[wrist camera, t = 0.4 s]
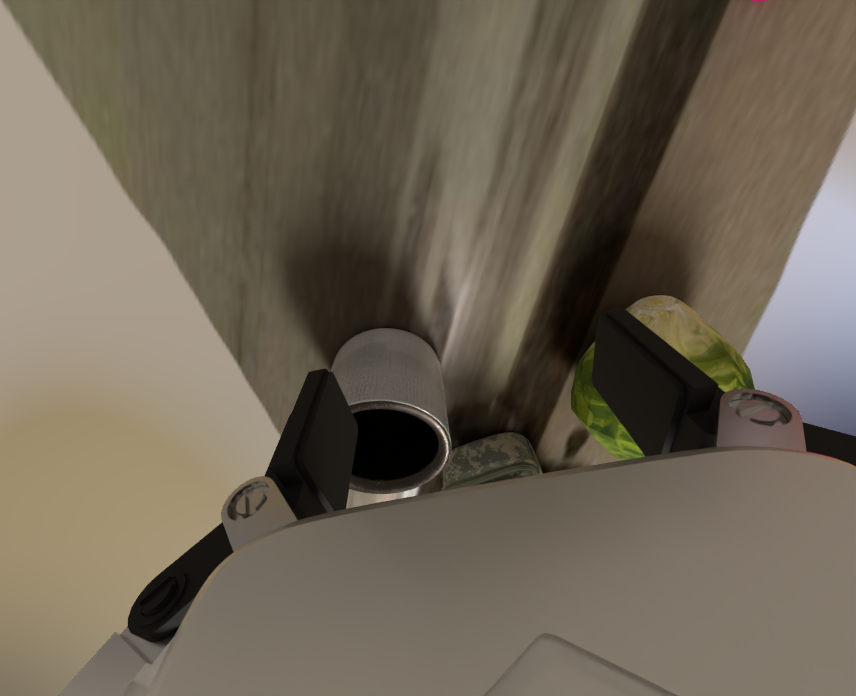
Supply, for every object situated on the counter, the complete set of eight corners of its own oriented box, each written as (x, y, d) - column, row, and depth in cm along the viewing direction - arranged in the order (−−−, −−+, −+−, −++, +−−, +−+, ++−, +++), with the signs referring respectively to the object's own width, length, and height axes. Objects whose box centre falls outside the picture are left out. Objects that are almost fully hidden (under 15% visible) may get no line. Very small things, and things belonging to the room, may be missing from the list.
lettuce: (693, 259, 43) (820, 311, 27) (690, 399, 53) (782, 496, 37) (542, 298, 48) (576, 361, 32) (565, 419, 58) (600, 512, 42)
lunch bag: (425, 448, 60) (434, 586, 41) (521, 415, 56) (576, 549, 38) (473, 516, 73) (496, 643, 55) (553, 493, 70) (604, 620, 52)
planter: (436, 317, 45) (448, 392, 32) (444, 403, 54) (456, 488, 41) (321, 330, 45) (286, 410, 32) (348, 413, 54) (329, 502, 41)
